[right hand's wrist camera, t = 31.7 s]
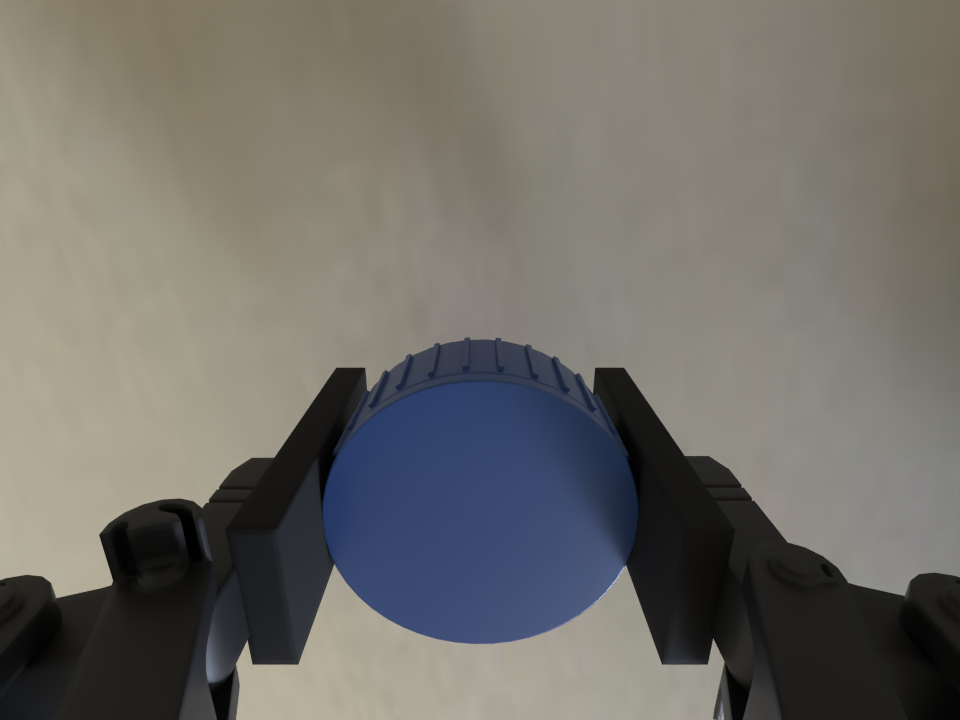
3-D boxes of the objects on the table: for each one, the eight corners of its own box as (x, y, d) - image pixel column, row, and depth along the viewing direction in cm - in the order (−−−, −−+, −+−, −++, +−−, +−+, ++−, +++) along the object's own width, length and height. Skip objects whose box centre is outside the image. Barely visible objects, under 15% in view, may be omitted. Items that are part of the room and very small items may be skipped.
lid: (663, 490, 13) (701, 558, 10) (450, 607, 14) (445, 688, 12) (517, 277, 11) (527, 306, 9) (289, 434, 12) (247, 493, 10)
